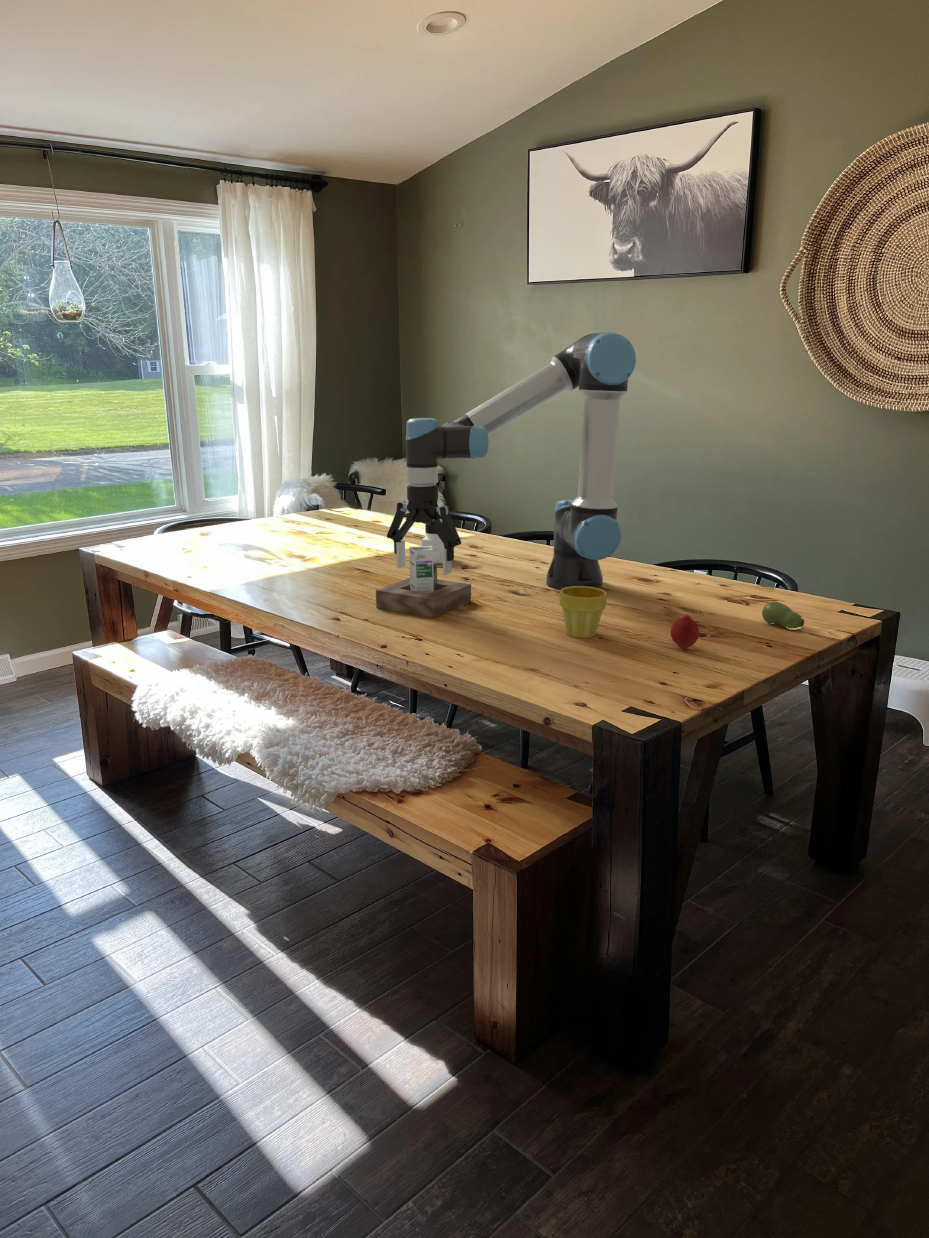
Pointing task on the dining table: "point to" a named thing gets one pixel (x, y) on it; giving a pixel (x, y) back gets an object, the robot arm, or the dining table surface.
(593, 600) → the plant pot
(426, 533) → the medicine bottle
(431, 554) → the syrup box
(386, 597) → the socket block
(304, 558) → the dining table surface
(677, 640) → the onion
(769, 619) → the pear
